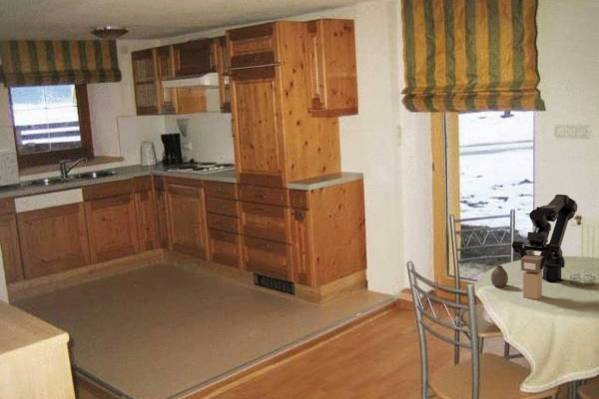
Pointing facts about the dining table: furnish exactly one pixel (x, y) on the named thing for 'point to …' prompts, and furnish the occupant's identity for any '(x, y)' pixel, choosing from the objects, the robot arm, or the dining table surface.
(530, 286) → the mailer box
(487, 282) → the dining table surface
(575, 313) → the dining table surface
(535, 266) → the lid
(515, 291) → the dining table surface
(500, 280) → the vase
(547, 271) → the robot arm
